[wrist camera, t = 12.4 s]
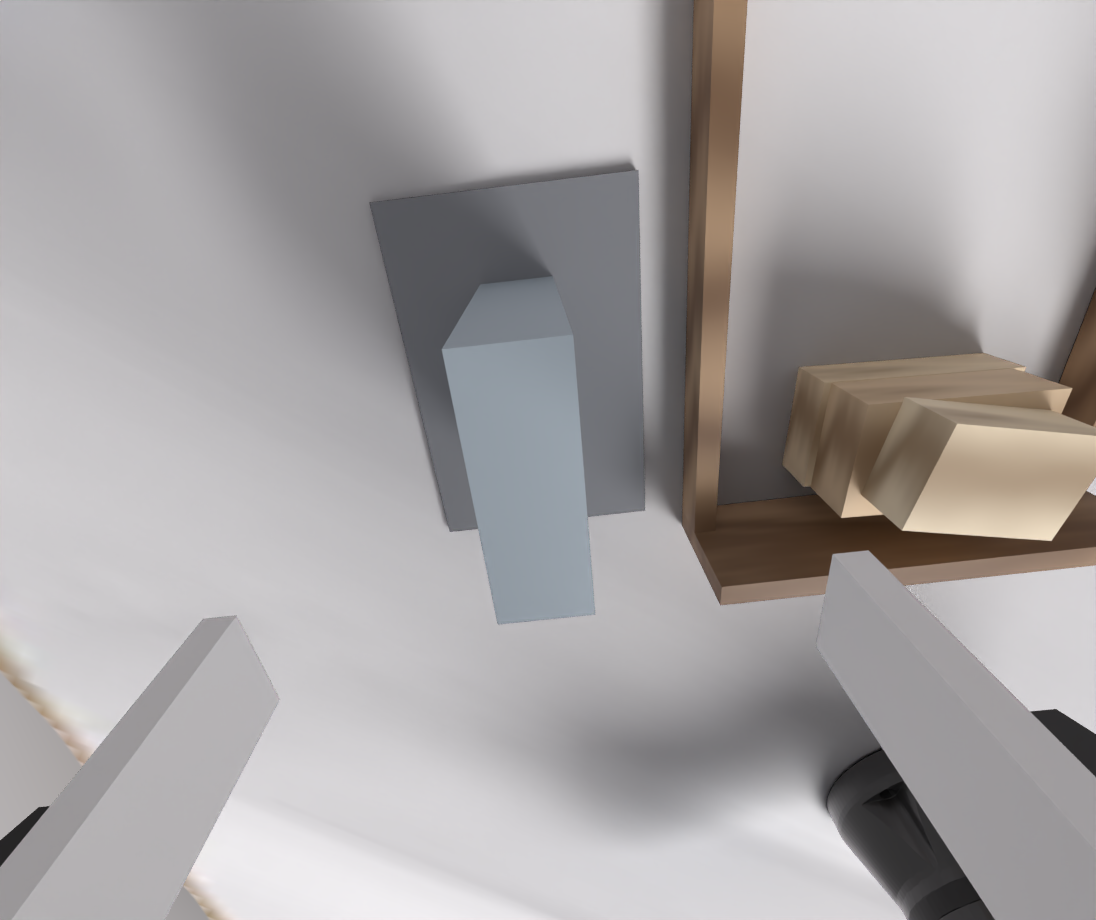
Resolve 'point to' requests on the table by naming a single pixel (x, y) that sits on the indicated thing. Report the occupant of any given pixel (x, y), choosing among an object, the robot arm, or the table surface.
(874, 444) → the block
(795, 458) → the block
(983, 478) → the offcut top
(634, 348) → the mat
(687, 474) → the rack
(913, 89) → the table surface
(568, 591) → the pale blue chunky brick
